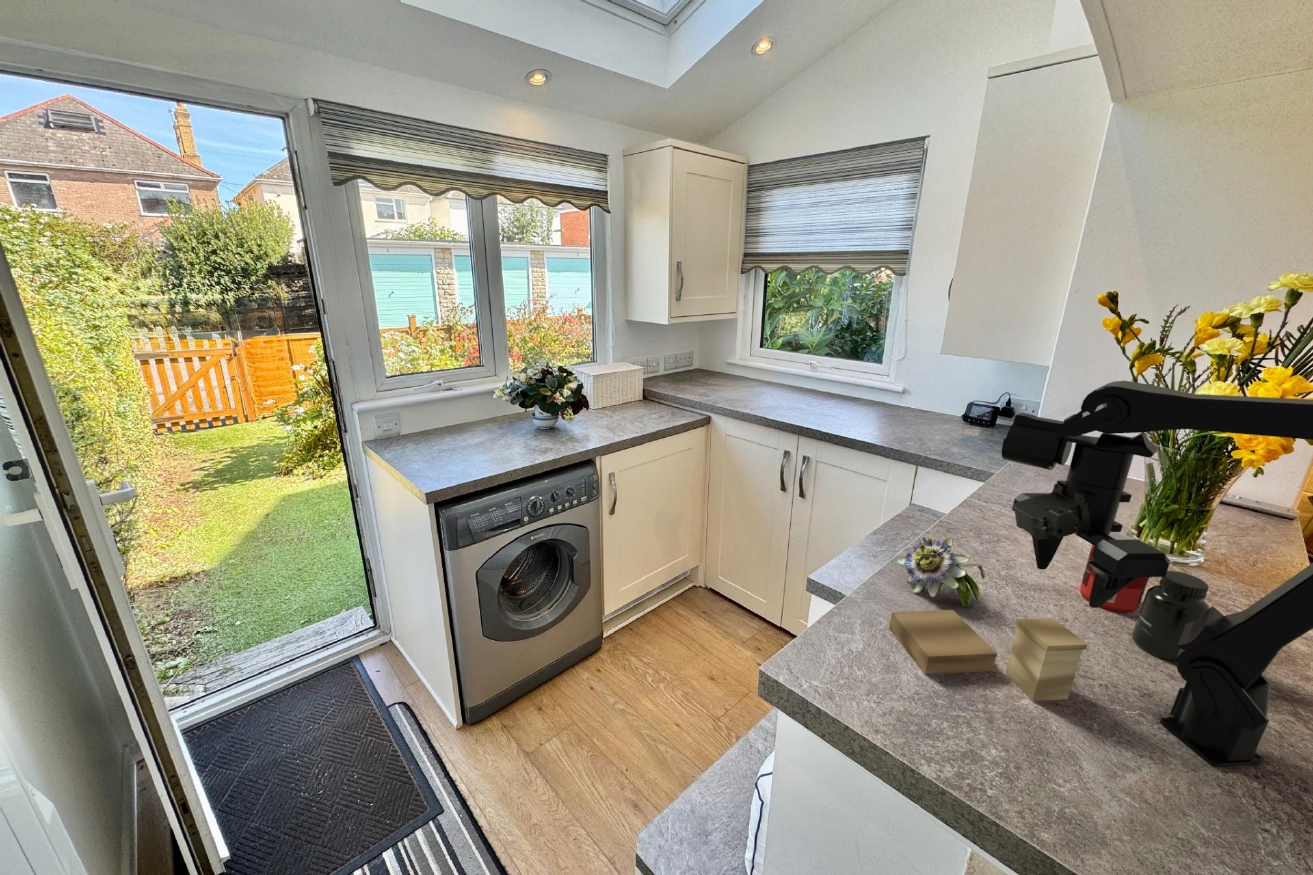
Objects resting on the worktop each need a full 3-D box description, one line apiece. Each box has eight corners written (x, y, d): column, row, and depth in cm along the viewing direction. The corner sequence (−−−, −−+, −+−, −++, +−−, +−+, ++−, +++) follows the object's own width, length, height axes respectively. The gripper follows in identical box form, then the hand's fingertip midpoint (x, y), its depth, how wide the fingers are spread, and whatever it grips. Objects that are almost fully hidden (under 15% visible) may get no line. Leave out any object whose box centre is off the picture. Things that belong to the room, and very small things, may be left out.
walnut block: (992, 671, 74) (997, 653, 73) (925, 674, 73) (928, 656, 72) (949, 625, 84) (952, 609, 83) (889, 628, 83) (891, 612, 82)
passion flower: (913, 619, 94) (881, 557, 96) (949, 591, 99) (917, 532, 101) (969, 618, 84) (932, 549, 86) (1005, 588, 89) (969, 523, 91)
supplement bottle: (1120, 639, 81) (1142, 570, 78) (1147, 629, 84) (1170, 562, 80) (1174, 668, 75) (1201, 596, 72) (1202, 657, 77) (1230, 587, 74)
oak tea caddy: (1070, 700, 69) (1087, 644, 67) (1031, 702, 69) (1047, 645, 66) (1038, 670, 74) (1053, 617, 72) (1002, 672, 74) (1016, 619, 71)
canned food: (1149, 617, 87) (1169, 558, 83) (1094, 610, 88) (1111, 552, 85) (1120, 591, 94) (1137, 535, 91) (1069, 585, 95) (1085, 530, 92)
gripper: (987, 456, 76) (967, 552, 80) (1094, 511, 58) (1060, 631, 62) (1062, 456, 76) (1038, 552, 81) (1192, 511, 58) (1151, 630, 63)
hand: (1066, 586), depth 72 cm, fingers open, 9 cm apart
